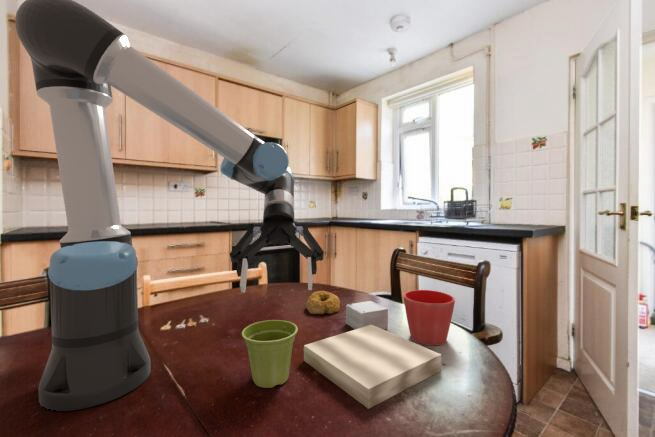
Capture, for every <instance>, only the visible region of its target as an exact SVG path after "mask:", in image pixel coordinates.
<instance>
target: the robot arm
mask: <svg viewBox="0 0 655 437" xmlns="http://www.w3.org/2000/svg"><path fill="white" fill-rule="evenodd" d="M14 17H15V19H14V24H15V25H14V26H15V31H16V34H17V37H18V39H19V42H21V45H22V46H23V48H24V49H25V51H26V52H27V54H28V56H29V58H30V62H31V65H32V73H33V79H34V84H35V91H36V95H37V96H38V97H39V99H42V101H44V102H45V103H46V104H48V105H49V111H50V118H51V125H52V130H53V137H54V144H55V145H54V146H55V150H56V152H55V153H56V157H57V164H58V170H59V177H60V184H61V189H62V190H61V191H62V196H63V203H64V204H63V205H64V210H65V217H66V222H67V229H68V230H67V233H65V235H63V237H61V239H60V240H59V244H60V246H59V247H60V248H58V249H56V250H55V251H54V252H53V253H52V254H51V255H50V259H49V266H48V269H47V276H48V278H49V293H50V294H49V295H50V296H49V297H50V320H51V351H50V353H49V357H48V359H47V362H46V364H45V367H44V370H43V373H42V376H41V377H40V378H41V379H40V381H39V384H38V390H37V391H38V403H40V404H39V405H40V407H42V406H43V407H45V408H48V409H51V410H50V411H53V410H56V411H55V412H69V411H70V412H71V411H77V410H83V409H88V408H92V407H96V406H99V405H102V404H106V403H108V402H111V401H114V400H115V399H116V400H117V399H118V398H121V397H122V396H125V395H126V394H128V393H130V392H132V391H134V390H136V388H138V387H139V386H141V385H142V384H143V383H144V382H146V380H147V379H148V378H149V377H150V374H151V368H152V367H151V356H150V355H149V354H150V353H149V352H148V349H147V346H146V345H145V342H144V340H143V338H142V336H141V333H140V331H139V308H138V307H139V304H138V298H139V297H138V267H139V266H138V265H139V260H138V257H137V252H136V249H135V247H133V240H132V234H131V231H130V230H129V229H127V228H125V227H124V226H123V225H122V222H121V215H120V208H119V202H118V201H119V200H118V195H117V187H116V179H115V178H116V177H115V173H114V172H115V171H114V166H113V157H112V151H111V144H110V137H109V129H108V121H107V114H106V109H107V108H108V107H109V106H110V105H112V104H113V103H114V102H113V95H112V94H113V93H112V88H114V89H116V90H117V91H119V92H121V94H123V95H125V96H127V97H128V98H130V99H132V100H133V101H134V102H136V103H138V104H139V105H140V106H142V107H144V108H145V109H147V110H148V111H150V112H151V113H153V114H155V115H157V116H159V117H160V119H162V120H165V121H166V122H167V123H169V124H171V125H172V126H174V127H175V128H177V129H178V130H180V131H181V132H183V133H185V134H186V135H188V136H190V137H191V138H193V139H194V140H196V141H198V142H199V143H201V144H202V145H203V146H205V147H207V148H208V149H210V150H212V151H213V152H215V153H216V154H217V155H219V156H221V157H222V158H223V159H222V161H221V164H220V168H219V170H220V173H221V174H222V175H224V176H226V177H227V178H229V179H230V180H231V181H235V182H238V183H240V184H242V185H244V186H246V187H248V188H251V189H253V190H255V191H256V192H259V193H261V194H264V201H263V202H264V204H263V218H262V225H261V226H255V225H254V224H253V223H249V225H248V227H247V230H246V232H245V233H244V235H243V236H242V237H241V238H240V240H239V241H238V242H237V244H236V245H235V246H234V247H233V248H232V250H231V251H230V252H229V258H230V262H231V263H233V264H235V263H237V264H236V270H235V271H236V274H237V275H236V276H237V277H240V279H239V280H240V281H239V289H240V292H241V293H246V288H247V278H248V269H249V263H248V262H249V260H251V259H252V258H253V257H254V256H255V255H256V254H257V253H259V252H260V250H262V249H263V248H266V247H267V246H268V245H270V244H271V245H279V244H280V245H286V244H289V246H290V247H293V248H294V249H295V250H296V251H298V253H300V254H301V256H303V257H304V258H306V259H307V260H306V270H307V290H308V291H312V290H313V276H314V275H317V271H318V265H317V262H318V261H323V260H324V256H325V251H324V250H323V248H322V247H321V246H320V244H319V242H318V241H317V240H316V239H315V237H314V236H313V234H312V233H311V231H310V230H309V226H308V224H307V223H303V224H302V226H301V225H300V226H296V225H295V179H294V173H293V170H292V169H291V168H290V167H289V160H290V159H289V155H288V152H287V151H286V149H284V147H283V146H282V145H280V144H279V143H276V142H271V141H270V142H265V141H263V140H262V139H261V138H259V137H258V136H257V135H255V134H253V132H250V131H249V130H248V129H246V128H245V127H244V126H242V125H241V124H239V123H238V122H237V121H235V120H234V119H233V118H231V117H230V116H229V115H227V114H225V113H224V112H223V111H221V110H220V109H219V108H217V107H216V106H215V105H214V104H212V103H210V102H209V101H208V100H207V99H205V98H203V97H202V96H201V95H200V94H198V93H196V91H193V90H192V88H189V87H188V86H187V85H186V84H184V83H183V82H182V81H180V80H178V79H177V78H176V77H174V76H173V75H172V74H170V73H169V72H168V71H166V70H164V69H163V68H162V67H160V66H159V65H157V64H156V63H155V62H154V61H152V60H151V59H149V58H148V57H146V56H145V54H142V53H141V52H140V51H138V50H136V48H134V47H133V46H132V45H131V43H130V40H129V37H128V36H127V35H126V34H125V33H124V32H122V31H121V30H119V29H118V28H117V27H116V26H114V25H113V24H111V23H110V22H109V21H107V20H106V19H104V18H102V16H100V15H98V14H97V13H95V12H94V11H92V10H90V9H89V8H88V7H86V6H84V5H82V4H81V3H79V2H77V1H75V0H24V1H23V2H22V3H21V4H20V5H19V7H18V9H17V10H16V13H15V16H14ZM259 233H260V235H259V236H258V238H257V239H256V240H254V241H253V239H254V238H255V237H257V235H258V234H259ZM297 233H298V234H299V235H300V236H301V237H303V239H304V241H305V243H304V242H303V241H302V240H301V239H299V238H298V237H297ZM43 407H42V408H43ZM45 408H44V409H45ZM48 409H47V410H48Z"/></svg>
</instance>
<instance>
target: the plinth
mask: <svg viewBox="0 0 655 437" xmlns="http://www.w3.org/2000/svg"><path fill="white" fill-rule="evenodd" d="M303 361H304V362H305V363H306V364H308V365H309V366H311V368H313V369H314V370H315V371H317V372H319V374H321V375H322V376H323V377H325V378H326V379H328V380H329V381H331V382H332V383H333V384H334V385H336V386H337V387H338V388H340V389H341V390H343V391H344V392H345V393H347V395H349V396H350V397H351V398H353V399H354V400H356V401H357V402H358V403H360V404H361V405H362V406H364V407H365V408H366V409H371V408H373V407H375V406H376V405H380V404H381V403H382V402H385V401H387V400H388V399H390V398H392V397H394V396H397V395H398V394H400V393H402V392H404V391H406V390H408V389H410V388H411V387H414V386H415V385H417V384H419V383H420V382H423V381H425V380H426V379H428V378H431V377H433V376H434V375H437V373H438V374H439V373H440V372H442V354H441V353H439V352H436V351H434V350H431V349H429V348H427V347H425V346H422V345H421V344H419V343H417V342H414V341H413V342H412V341H410V340H408V339H406V338H404V337H401V336H399V335H397V334H394V333H392V332H390V331H388V330H386V329H384V330H383V329H381V328H378V327H376V326H374V325H368V326H365V327H362V328H358V329H353V330H350V331H346V332H343V333H342V332H341V333H338V334H336V335H333V336H329V337H325V338H323V339H320V340H316V341H314V342H311V343H307V344H304V345H303Z"/></svg>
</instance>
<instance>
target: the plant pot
mask: <svg viewBox="0 0 655 437" xmlns="http://www.w3.org/2000/svg"><path fill="white" fill-rule="evenodd" d="M298 330H299V328H298V326H297V325H296V324H295V323H294V322H292V321H288V320H283V319H282V320H281V319H268V320H262V321H261V320H260V321H256V322H254V323H251V324H249V325H247V326H246V327H244V328H243V330H242V331H241V336H242V338H243V340H244V343H245V345H246V347H247V353H248V359H249V360H248V361H249V364H250V371H251V377H252V381H253V382H254V384H255V385H256V386H257V387H260V388H263V389H265V388H266V389H268V388H269V389H270V388H271V389H272V388H274V387H276V386H278V385H283V384H285V383H286V382H287V381H288V379H289V376H290V368H291V360H292V351H293V345H294V341H295V338H296V335H297V333H298Z"/></svg>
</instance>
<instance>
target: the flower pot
mask: <svg viewBox="0 0 655 437" xmlns="http://www.w3.org/2000/svg"><path fill="white" fill-rule="evenodd" d="M403 303H404V308H405V315H406V320H407V325H408V330H409V335H410V338H411V339H412V340H413V342H415V343H417V344H420V345H425V346H436V345H437V346H441V345H444V344H445V343H446V342H447V340H448V335H449V332H450V326H451V322H452V317H453V313H454V309H455V308H454V307H455V303H456V299H455V297H454V296H452V295H451V294H448V293H445V292H441V291H437V290H431V289H430V290H428V289H413V290H409V291H407V292H405V293H403Z"/></svg>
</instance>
